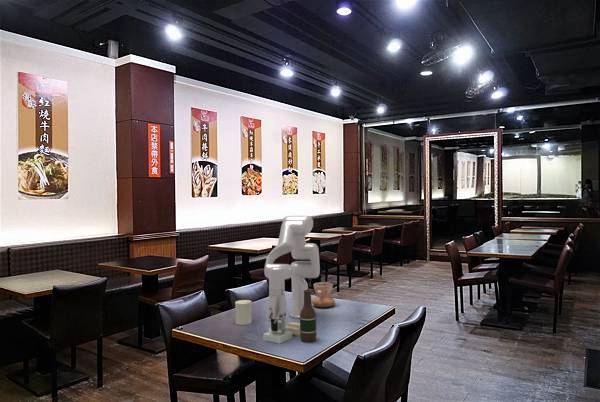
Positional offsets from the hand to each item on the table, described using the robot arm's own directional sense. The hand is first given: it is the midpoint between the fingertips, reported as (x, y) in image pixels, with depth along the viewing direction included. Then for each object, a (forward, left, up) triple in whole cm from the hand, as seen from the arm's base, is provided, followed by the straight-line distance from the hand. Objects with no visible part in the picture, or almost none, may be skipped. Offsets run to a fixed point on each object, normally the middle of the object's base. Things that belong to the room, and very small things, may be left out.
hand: (277, 329), depth 210 cm
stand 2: (-14, 0, -5) cm, 15 cm away
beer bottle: (-6, +14, -5) cm, 16 cm away
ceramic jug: (-67, -15, -5) cm, 69 cm away
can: (-13, -34, -5) cm, 37 cm away
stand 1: (0, 0, -5) cm, 5 cm away
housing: (0, 0, -1) cm, 1 cm away
